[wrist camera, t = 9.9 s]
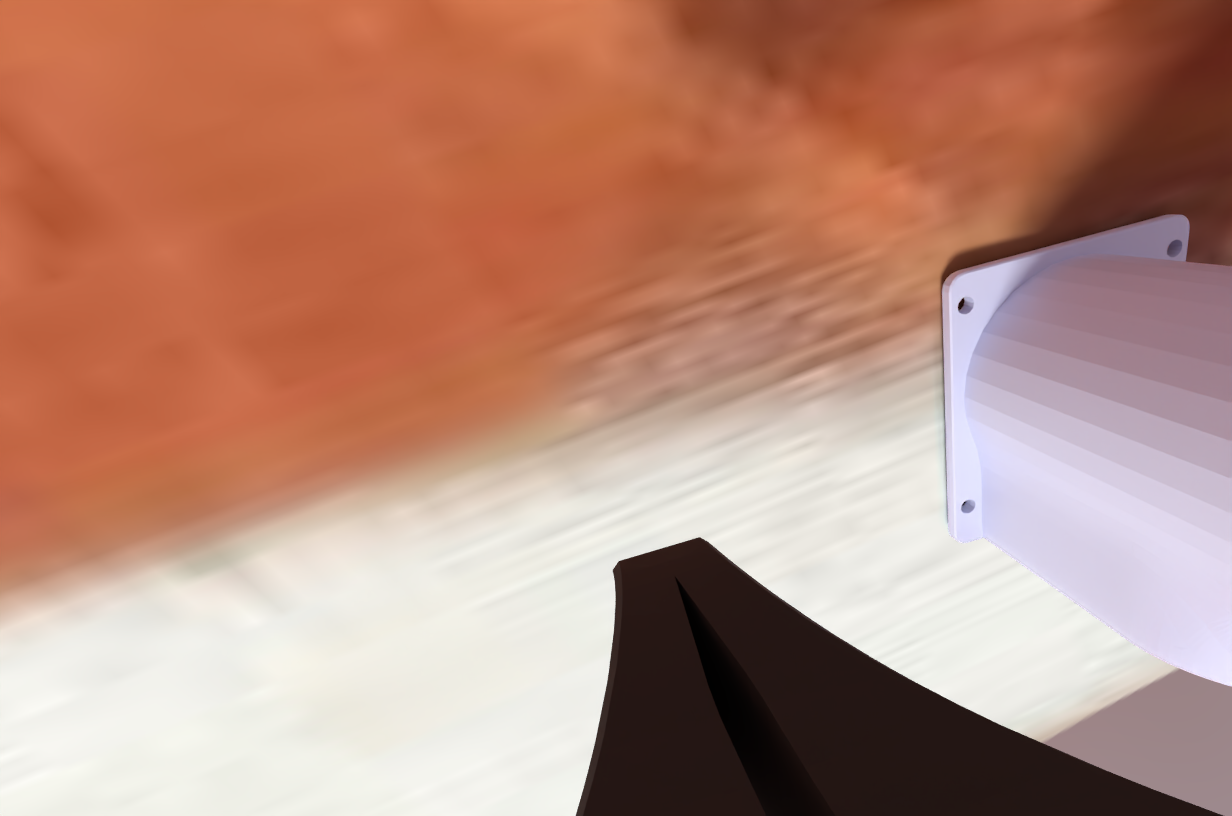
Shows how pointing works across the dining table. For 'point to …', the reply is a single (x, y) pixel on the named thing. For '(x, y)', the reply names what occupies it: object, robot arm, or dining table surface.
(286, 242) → the dining table surface
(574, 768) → the dining table surface
